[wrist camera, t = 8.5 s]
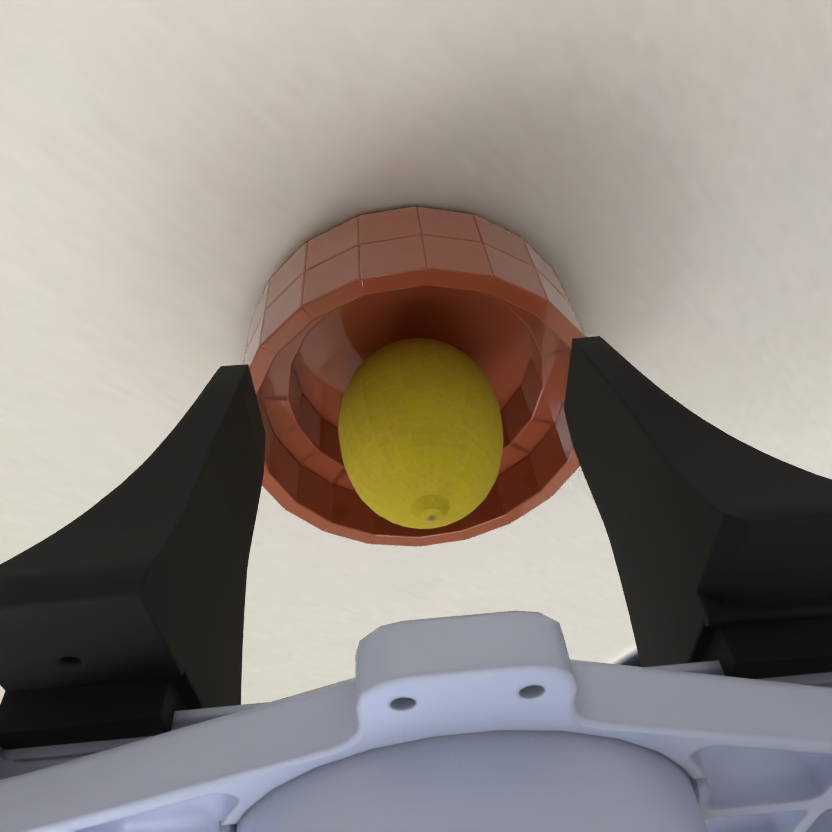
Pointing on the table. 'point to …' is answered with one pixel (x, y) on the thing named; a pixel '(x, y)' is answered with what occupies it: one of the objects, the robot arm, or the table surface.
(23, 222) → the table surface
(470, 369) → the lemon
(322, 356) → the bowl
